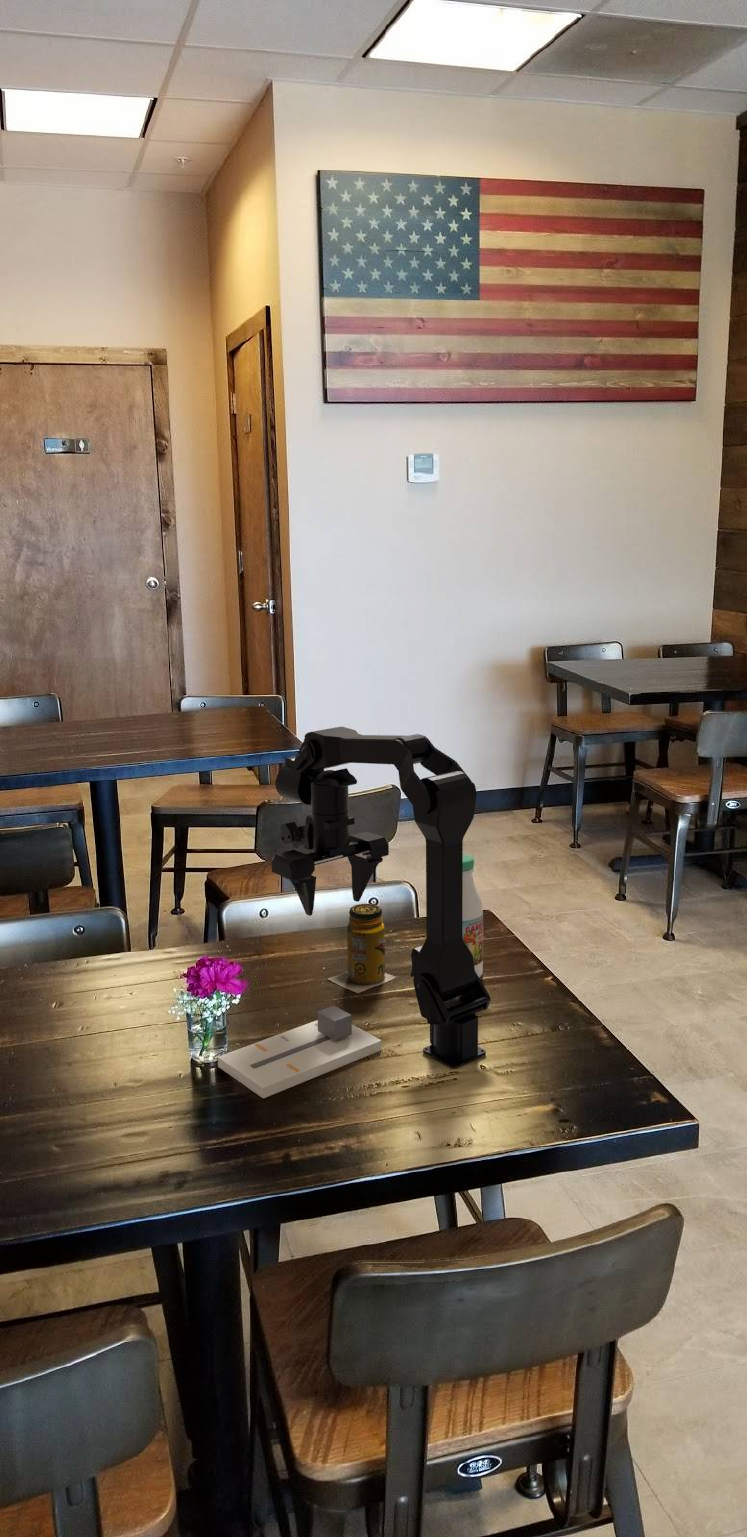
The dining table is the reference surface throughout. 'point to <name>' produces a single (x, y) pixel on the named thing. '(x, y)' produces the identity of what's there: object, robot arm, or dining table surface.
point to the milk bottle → (472, 915)
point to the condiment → (364, 950)
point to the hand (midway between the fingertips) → (333, 908)
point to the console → (295, 1058)
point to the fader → (334, 1023)
